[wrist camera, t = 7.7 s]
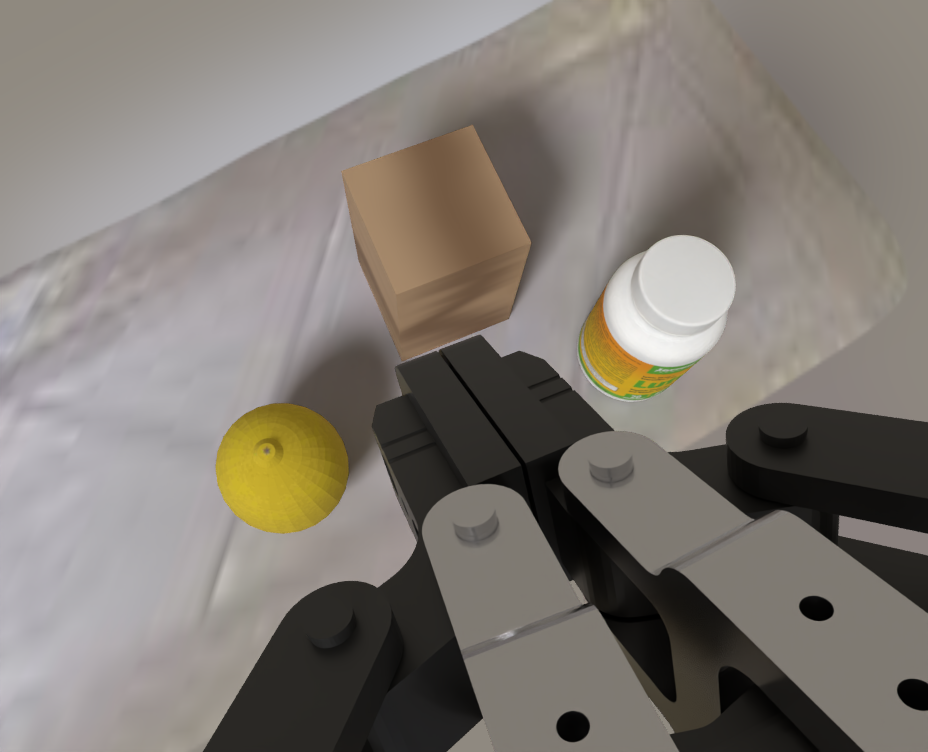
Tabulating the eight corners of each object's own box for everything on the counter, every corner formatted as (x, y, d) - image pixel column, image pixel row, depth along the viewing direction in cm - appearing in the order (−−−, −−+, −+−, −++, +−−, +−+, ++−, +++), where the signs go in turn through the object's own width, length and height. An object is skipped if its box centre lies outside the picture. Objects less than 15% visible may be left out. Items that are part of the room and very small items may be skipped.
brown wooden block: (402, 361, 39) (396, 294, 31) (358, 261, 41) (341, 171, 32) (508, 319, 40) (531, 242, 32) (462, 222, 42) (472, 124, 33)
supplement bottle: (617, 424, 39) (678, 368, 30) (554, 339, 40) (594, 261, 31) (698, 367, 40) (782, 297, 31) (635, 286, 41) (697, 195, 32)
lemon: (362, 530, 37) (345, 512, 29) (245, 547, 36) (196, 533, 29) (349, 418, 38) (330, 373, 31) (236, 434, 38) (188, 391, 30)
